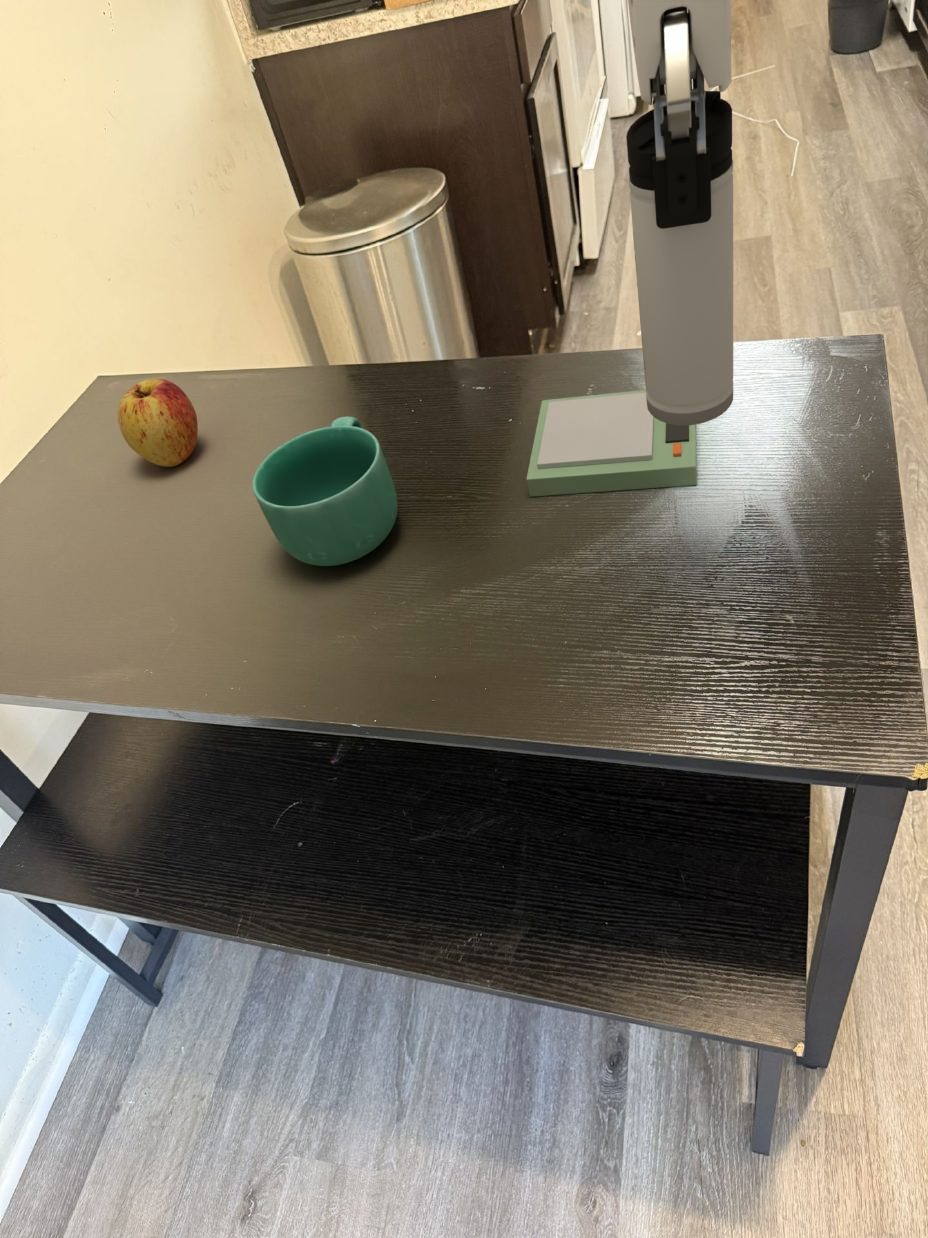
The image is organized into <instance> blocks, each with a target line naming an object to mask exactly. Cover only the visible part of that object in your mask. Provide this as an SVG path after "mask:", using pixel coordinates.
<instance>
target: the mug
mask: <svg viewBox="0 0 928 1238" xmlns="http://www.w3.org/2000/svg"><path fill="white" fill-rule="evenodd" d="M330 424H331V425H330V426H326V427H322V428H321V427H320V428H317V429H314V430H313V429H312V430H310V431H307V432H305V433H302V434H300V435H298V436H296V437H294V438H291V439H290V440H287V441H286V442H285V443H283V444H281V445H280V446H278V447H277V448H275V449H274V450H273V451H272V452H271V453H269V455H268V456H266V457H265V458H264V460H263V461H262V462H261V463H260V464H259V466H258V467H257V469H256V471H255V473H254V474H253V475H254V476H253V479H252V491H253V494H254V496H255V498H256V501H257V503H258V505H259V507H260V509H261V511H262V514H263V515H264V517H265V520H266V521H267V524H268V525H269V528H270V530H271V531H272V533H273V535H274V536H275V538H276V540H277V541H278V543H279V544H280V545H281V546H282V548H283V549H284V551H286V553H288V554H289V555H290V556H291V557H293V558H294V559H296V560H298V561H300V562H302V563H305V564H308V565H311V566H318V567H331V566H332V567H334V566H339V565H343V564H347V563H351V562H353V561H355V560H359V559H361V558H362V557H365V556H366V555H368V554H369V553H370V552H372V551H374V550H375V549H376V548H378V546H379V545H381V544H382V543H383V542H384V540H386V538H387V537H388V535H389V534H390V532H391V531H392V529H393V527H394V525H395V523H396V519H397V515H398V509H399V508H398V505H399V504H398V503H399V502H398V496H397V495H398V494H397V491H396V488H395V484H394V480H393V477H392V475H391V472H390V469H389V466H388V463H387V461H386V458H385V455H384V453H383V450H382V448H381V444H380V443H379V441H378V439H377V437H376V436H375V435H374V434H373V433H372V432H370V431H368V430H367V429H364V428H363V425H362V423H361V422H360V420H359V419H357V418H356V417H354V416H341V417H337V418H336V419H334V420H333V421H332V422H331V423H330Z"/></svg>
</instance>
